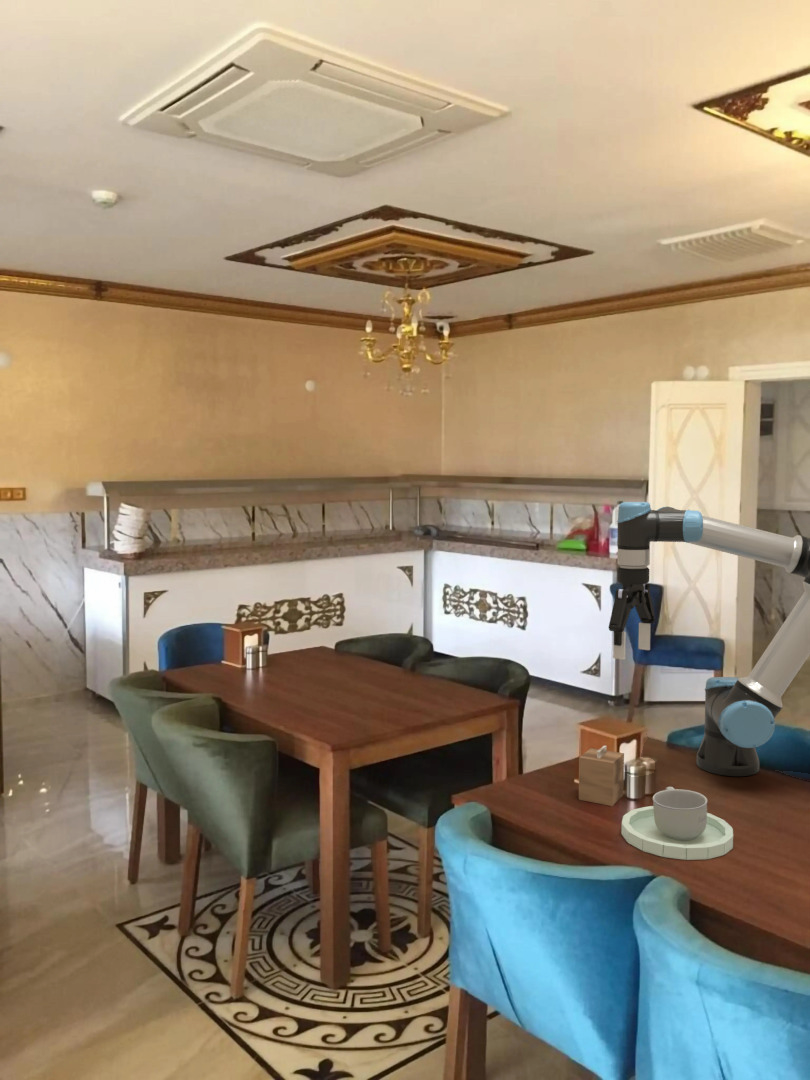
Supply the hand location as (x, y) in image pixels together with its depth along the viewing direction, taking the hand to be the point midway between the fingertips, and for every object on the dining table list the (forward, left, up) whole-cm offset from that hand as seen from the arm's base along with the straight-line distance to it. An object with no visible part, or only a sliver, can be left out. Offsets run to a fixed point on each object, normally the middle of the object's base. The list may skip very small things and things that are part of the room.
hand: (632, 654), depth 222 cm
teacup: (+24, +23, -31) cm, 45 cm away
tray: (+24, +23, -31) cm, 46 cm away
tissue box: (+14, 0, -31) cm, 35 cm away
